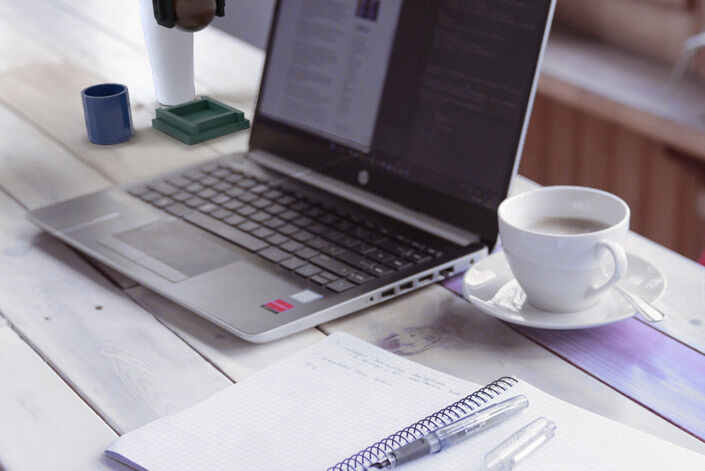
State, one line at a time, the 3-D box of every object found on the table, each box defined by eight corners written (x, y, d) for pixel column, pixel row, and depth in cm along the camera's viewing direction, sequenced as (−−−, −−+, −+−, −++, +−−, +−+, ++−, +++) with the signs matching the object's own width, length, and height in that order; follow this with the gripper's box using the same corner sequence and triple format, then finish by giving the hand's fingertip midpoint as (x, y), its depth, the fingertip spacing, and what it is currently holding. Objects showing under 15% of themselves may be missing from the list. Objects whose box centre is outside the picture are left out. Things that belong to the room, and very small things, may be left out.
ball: (183, 42, 112) (177, -13, 109) (156, 31, 116) (149, -22, 113) (229, 31, 115) (224, -22, 112) (200, 21, 120) (195, -30, 117)
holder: (189, 145, 115) (187, 128, 114) (152, 126, 122) (149, 110, 121) (250, 127, 121) (249, 110, 120) (211, 109, 127) (209, 93, 126)
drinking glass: (171, 112, 126) (158, -1, 119) (141, 101, 130) (126, -9, 123) (211, 99, 130) (201, -11, 124) (180, 89, 135) (168, -18, 128)
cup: (101, 148, 115) (94, 101, 113) (80, 136, 119) (72, 90, 116) (142, 136, 118) (136, 90, 116) (120, 125, 122) (114, 80, 120)
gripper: (220, -147, 114) (233, 2, 122) (88, -133, 104) (111, 28, 113) (256, -144, 109) (267, 12, 117) (121, -128, 99) (143, 41, 107)
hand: (191, 19), depth 115 cm, fingers closed on ball, 6 cm apart
